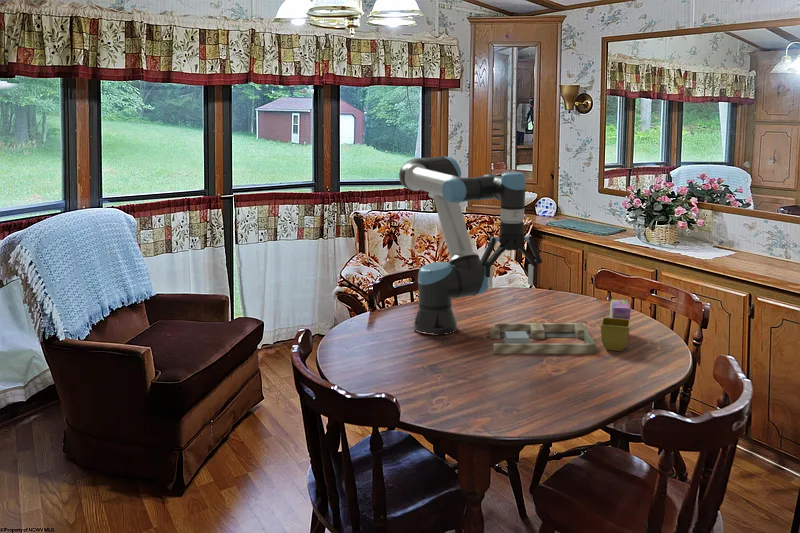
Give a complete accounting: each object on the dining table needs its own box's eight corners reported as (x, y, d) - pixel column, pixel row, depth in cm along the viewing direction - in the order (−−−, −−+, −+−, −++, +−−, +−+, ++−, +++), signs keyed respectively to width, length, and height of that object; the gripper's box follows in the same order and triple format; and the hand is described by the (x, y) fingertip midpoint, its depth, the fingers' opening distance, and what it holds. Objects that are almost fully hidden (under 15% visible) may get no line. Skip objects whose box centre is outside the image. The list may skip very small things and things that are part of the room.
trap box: (493, 353, 236) (493, 344, 236) (489, 331, 259) (489, 323, 258) (595, 353, 235) (595, 344, 234) (582, 331, 257) (582, 323, 256)
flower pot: (629, 345, 241) (630, 319, 239) (628, 354, 233) (629, 326, 231) (601, 343, 244) (602, 317, 242) (599, 351, 236) (600, 324, 234)
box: (629, 342, 244) (630, 308, 242) (611, 341, 246) (612, 307, 243) (626, 333, 254) (627, 299, 252) (608, 332, 255) (610, 299, 253)
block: (507, 349, 240) (507, 338, 240) (504, 342, 247) (504, 331, 246) (528, 349, 240) (529, 337, 239) (525, 342, 247) (525, 331, 246)
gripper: (477, 224, 230) (476, 290, 235) (553, 221, 234) (551, 286, 239) (471, 220, 237) (470, 284, 242) (545, 217, 241) (542, 280, 246)
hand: (510, 285), depth 241 cm, fingers open, 13 cm apart
